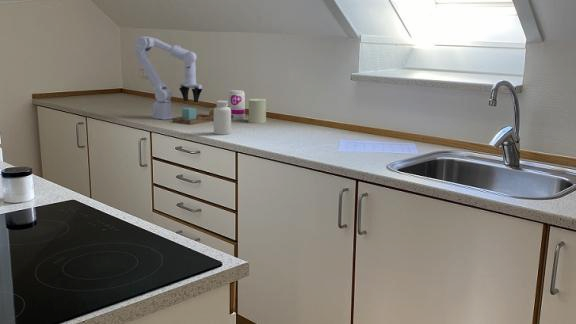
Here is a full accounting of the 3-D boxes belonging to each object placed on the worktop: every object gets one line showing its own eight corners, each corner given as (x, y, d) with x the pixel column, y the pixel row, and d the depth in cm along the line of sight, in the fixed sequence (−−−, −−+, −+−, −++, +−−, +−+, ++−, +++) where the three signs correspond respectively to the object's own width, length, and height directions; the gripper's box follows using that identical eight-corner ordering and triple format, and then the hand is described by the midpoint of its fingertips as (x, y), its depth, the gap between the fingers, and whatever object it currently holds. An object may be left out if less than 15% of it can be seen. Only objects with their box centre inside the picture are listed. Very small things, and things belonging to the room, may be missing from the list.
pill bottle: (217, 135, 277) (217, 102, 273) (211, 132, 284) (210, 100, 280) (233, 134, 280) (233, 101, 277) (227, 131, 287) (226, 99, 284)
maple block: (209, 108, 326) (218, 107, 332) (209, 117, 328) (218, 116, 333) (215, 109, 323) (225, 108, 329) (215, 119, 324) (225, 117, 330)
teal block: (182, 122, 312) (182, 108, 311) (189, 121, 316) (189, 107, 314) (189, 123, 309) (188, 109, 308) (196, 122, 313) (196, 108, 312)
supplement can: (242, 120, 320) (242, 91, 316) (227, 119, 321) (227, 91, 318) (246, 118, 327) (246, 90, 324) (231, 117, 329) (231, 89, 326)
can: (257, 123, 310) (257, 100, 307) (244, 121, 316) (244, 98, 313) (269, 121, 316) (270, 98, 314) (257, 119, 322) (257, 97, 320)
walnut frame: (172, 121, 312) (172, 118, 312) (200, 117, 328) (200, 113, 327) (190, 124, 305) (190, 120, 304) (218, 120, 320) (218, 116, 320)
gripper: (174, 75, 317) (175, 101, 320) (194, 76, 309) (195, 103, 312) (184, 74, 323) (185, 99, 326) (204, 75, 314) (205, 102, 317)
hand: (190, 101), depth 319 cm, fingers open, 7 cm apart
